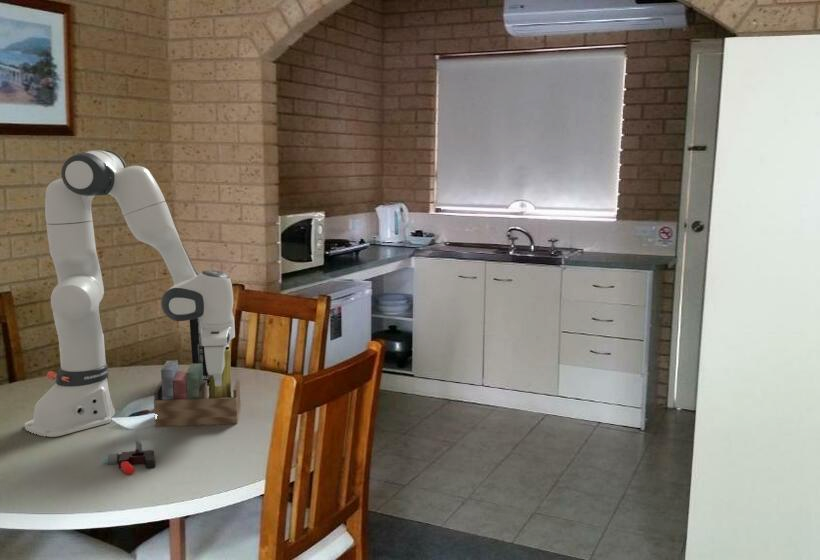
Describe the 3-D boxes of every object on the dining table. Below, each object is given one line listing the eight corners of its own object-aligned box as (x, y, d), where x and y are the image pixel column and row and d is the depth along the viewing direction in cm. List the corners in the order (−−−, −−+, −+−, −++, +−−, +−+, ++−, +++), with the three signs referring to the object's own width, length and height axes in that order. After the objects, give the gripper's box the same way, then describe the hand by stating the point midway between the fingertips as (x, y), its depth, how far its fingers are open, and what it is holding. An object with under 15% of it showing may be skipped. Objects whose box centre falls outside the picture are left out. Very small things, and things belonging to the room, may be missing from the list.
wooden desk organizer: (240, 409, 211) (239, 357, 209) (237, 423, 201) (235, 369, 198) (163, 412, 209) (160, 359, 206) (155, 426, 198) (152, 371, 195)
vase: (229, 394, 208) (229, 344, 206) (233, 401, 203) (234, 350, 201) (206, 396, 206) (206, 345, 203) (210, 404, 200) (211, 351, 198)
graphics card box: (213, 384, 233) (210, 297, 228) (191, 384, 233) (187, 297, 228) (227, 368, 250) (224, 287, 245) (206, 367, 250) (203, 286, 245)
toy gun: (105, 461, 177) (103, 442, 176) (158, 457, 180) (157, 438, 179) (96, 479, 168) (95, 458, 167) (153, 474, 170) (152, 454, 169)
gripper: (210, 322, 211) (212, 370, 213) (200, 341, 191) (202, 394, 193) (233, 322, 212) (235, 369, 214) (225, 340, 192) (228, 393, 194)
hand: (220, 381), depth 204 cm, fingers closed on vase, 5 cm apart
